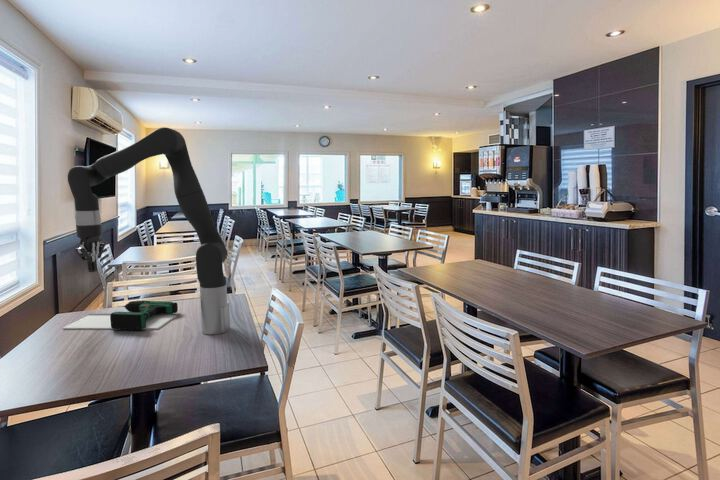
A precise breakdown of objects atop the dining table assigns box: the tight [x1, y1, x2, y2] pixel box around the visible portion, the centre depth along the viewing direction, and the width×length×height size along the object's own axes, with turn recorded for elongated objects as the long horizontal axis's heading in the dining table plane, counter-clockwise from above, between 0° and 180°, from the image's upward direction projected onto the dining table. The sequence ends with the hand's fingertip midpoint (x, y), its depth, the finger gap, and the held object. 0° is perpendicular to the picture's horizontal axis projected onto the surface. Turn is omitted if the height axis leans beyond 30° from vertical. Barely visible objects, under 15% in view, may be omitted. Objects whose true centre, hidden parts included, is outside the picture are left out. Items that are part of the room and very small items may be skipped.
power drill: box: [110, 300, 179, 331], centre depth 165 cm, size 6×29×25 cm
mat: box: [62, 313, 178, 330], centre depth 163 cm, size 36×16×1 cm, turn 89°
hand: (93, 271), depth 148 cm, fingers closed
